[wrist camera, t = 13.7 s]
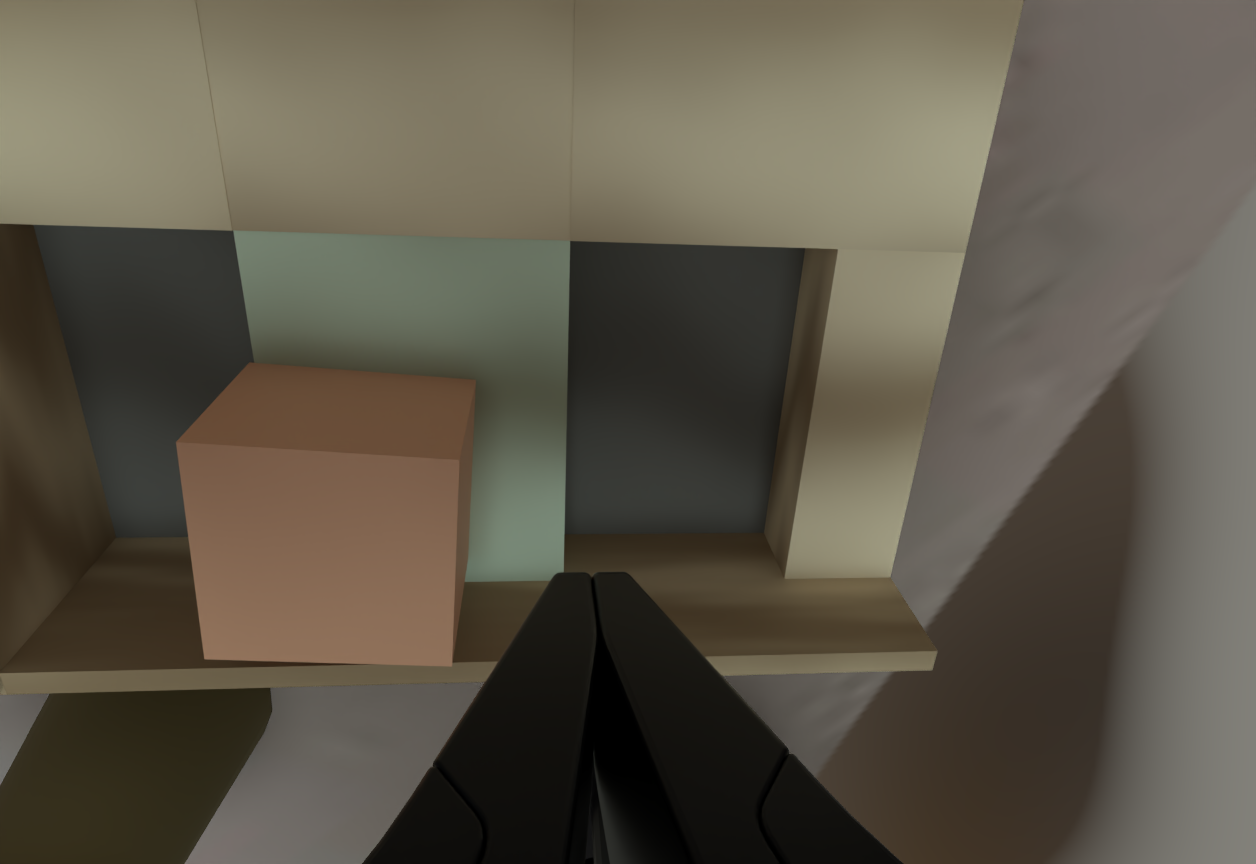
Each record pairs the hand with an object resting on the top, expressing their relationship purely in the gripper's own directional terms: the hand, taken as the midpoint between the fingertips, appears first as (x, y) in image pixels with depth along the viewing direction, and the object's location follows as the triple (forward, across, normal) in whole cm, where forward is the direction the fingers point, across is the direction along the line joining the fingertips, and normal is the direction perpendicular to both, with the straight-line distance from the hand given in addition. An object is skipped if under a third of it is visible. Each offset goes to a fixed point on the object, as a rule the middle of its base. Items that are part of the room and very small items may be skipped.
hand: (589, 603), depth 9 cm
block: (+10, +5, +4) cm, 12 cm away
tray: (+12, +2, -2) cm, 13 cm away
